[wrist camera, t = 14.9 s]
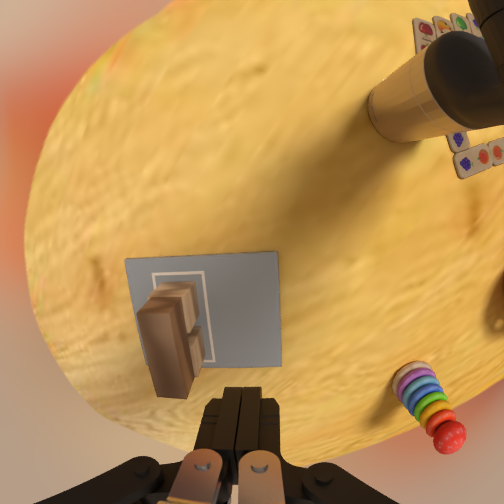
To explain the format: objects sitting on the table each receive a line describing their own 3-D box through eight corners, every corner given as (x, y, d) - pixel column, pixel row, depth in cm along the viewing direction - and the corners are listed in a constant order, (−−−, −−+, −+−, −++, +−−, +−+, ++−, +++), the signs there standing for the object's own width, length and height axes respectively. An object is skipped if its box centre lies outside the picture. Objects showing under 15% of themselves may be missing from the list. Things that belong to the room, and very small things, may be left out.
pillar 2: (201, 325, 45) (192, 346, 39) (205, 354, 46) (197, 376, 40) (169, 325, 45) (156, 345, 39) (174, 353, 46) (163, 375, 40)
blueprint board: (277, 250, 42) (277, 252, 41) (281, 363, 46) (281, 366, 45) (126, 258, 44) (124, 259, 43) (148, 362, 48) (146, 365, 47)
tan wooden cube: (195, 280, 43) (184, 296, 37) (199, 313, 44) (190, 333, 38) (162, 281, 43) (147, 297, 37) (167, 313, 44) (153, 332, 39)
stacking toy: (401, 401, 48) (436, 474, 29) (383, 378, 46) (420, 457, 28) (435, 375, 46) (481, 442, 28) (420, 350, 45) (471, 420, 27)
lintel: (181, 296, 37) (169, 313, 32) (194, 376, 40) (186, 399, 35) (151, 297, 37) (136, 313, 33) (167, 375, 40) (157, 396, 35)
